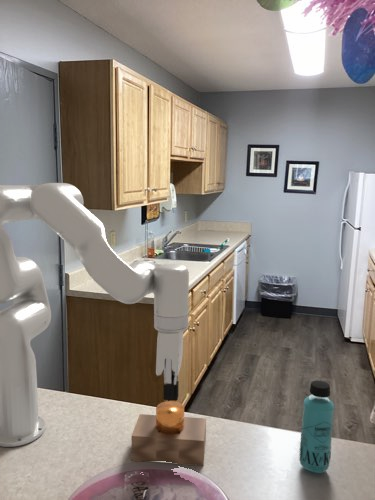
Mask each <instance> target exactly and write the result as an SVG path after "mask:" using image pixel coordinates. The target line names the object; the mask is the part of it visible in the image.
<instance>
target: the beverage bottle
mask: <svg viewBox="0 0 375 500" xmlns="http://www.w3.org/2000/svg"><path fill="white" fill-rule="evenodd" d="M309 393H310V395H308V396H306V397H305V398H304V400H303V407H302V408H303V409H302V420H301V421H302V422H301V423H302V424H301V429H300V431H301V432H300V442H299V463H300V465H301V467H303V469H305V470H307V471H309V472H312V473H317V474H319V473H320V474H321V473H324V472H326V471H327V470H329V467H330V462H331V456H332V451H331V450H332V436H333V427H334V425H333V423H334V421H333V420H334V411H335V404H334V403H333V401H332V400H330V398H329V397H330V396H331V386H330V383H328V382H326V381H324V380H313V381H311V382H310V387H309Z"/></svg>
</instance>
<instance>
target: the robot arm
mask: <svg viewBox="0 0 375 500" xmlns="http://www.w3.org/2000/svg"><path fill="white" fill-rule="evenodd" d="M84 204H85V203H84V196H83V195H82V192H81V191H80V189H78V188H77V187H76V186H75V185H73V184H71V183H66V182H48V183H47V182H46V183H43V184H27V185H24V184H20V185H19V184H18V185H17V184H15V185H14V184H13V185H11V184H10V185H9V184H0V305H1V304H6V303H10V302H13V304H12V305H10V306H8V307H6V308H3V309H2V310H0V447H6V448H12V447H13V448H14V447H20V446H23V445H27V444H29V443H32V442H33V441H36V440H37V439H38V438H40V437H41V436H42V435H43V434H44V432H45V430H46V422H45V421H46V420H44V418H42V417H41V416H39V400H38V377H37V374H38V373H37V360H36V355H35V352H34V351H33V348H32V345H31V341H32V340H33V339H34V338H36V337H37V336H38V335H40V334H41V333H43V332H44V331H45V330H46V329H48V327H49V326H50V323H51V320H52V310H51V305H50V300H49V296H48V292H47V289H46V283H45V280H44V276H43V275H44V274H43V273H42V270H41V269H40V267H39V265H38V264H37V263H36V262H35V261H34V260H33V259H31V258H29V257H25V256H16V253H15V251H14V244H13V241H12V240H11V238H10V235H9V234H8V232H7V231H6V230H5V229H4V225H5V224H6V223H7V224H8V223H15V222H20V221H29V220H31V221H32V220H41V222H43V223H44V224H45V225H47V227H48V228H49V229H50V230H51V231H53V232H54V233H55V234H56V235H57V236H59V238H61V239H62V240H63V241H64V242H66V244H68V246H69V247H70V248H71V249H73V250H74V251H75V253H76V254H77V255H78V258H79V260H80V263H81V264H82V266H83V267H84V269H85V271H86V272H87V275H88V276H90V277H91V279H92V280H93V281H94V282H95V283H96V284H97V286H100V288H101V289H102V290H104V291H105V292H106V293H107V294H108V295H109V296H111V297H112V298H114V299H115V300H116V301H118V302H120V303H123V304H126V305H132V304H136V303H138V302H140V301H141V300H143V299H144V298H145V297H146V296H147V295H150V294H153V303H154V304H153V311H154V312H153V314H154V315H153V319H154V320H153V321H154V322H153V323H154V324H153V327H154V329H155V330H156V331H157V339H156V341H157V342H156V358H155V359H156V362H155V374H156V377H159V376H161V375H162V374H163V400H164V401H174V402H178V399H179V391H180V390H179V388H180V387H179V373H180V370H181V366H182V362H183V361H182V360H183V353H184V352H183V350H184V332H185V331H186V330H188V329H189V310H190V309H189V304H190V303H189V295H190V294H189V293H190V291H189V290H190V289H189V287H190V285H189V281H190V274H189V273H190V272H189V269H188V268H187V267H186V266H185V265H182V264H178V263H177V264H176V263H166V264H161V263H156V262H152V261H151V262H150V261H144V260H139V261H134V262H132V263H131V264H127V262H126V261H124V260H123V259H122V258H120V256H119V255H117V253H116V252H115V251H114V250H113V249H112V248H111V246H110V244H109V242H108V241H107V238H106V229H105V225H104V223H103V222H102V221H101V220H100V219H99V218H98V217H97V216H95V215H94V214H93V213H91V211H90V210H88V208H86V207H85V206H84Z"/></svg>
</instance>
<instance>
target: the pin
mask: <svg viewBox="0 0 375 500" xmlns="http://www.w3.org/2000/svg"><path fill="white" fill-rule="evenodd" d="M155 415H156V429H157V430H158V431H159V432H160V433H163V434H167V435H173V434H178V433H179V432H181V431H182V430H183V429H184V417H185V406H184V405H183V404H182V403H181V402H179V401H171V400H165V401H162V402H160V403H158V404H157V406H156V408H155Z"/></svg>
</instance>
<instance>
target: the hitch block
mask: <svg viewBox="0 0 375 500" xmlns="http://www.w3.org/2000/svg"><path fill="white" fill-rule="evenodd" d="M206 433H207V418H205V417H191V416H190V417H187V416H184V429H183V430H182V431H181V432H179V433H178V434H173V435H167V434H163V433H160V432H159V431H158V430H157V429H156V414H143V413H140V414H139V415H138V418H137V420H136V423H135V426H134V429H133V430H132V433H131V461H134V462H143V461H166V462H172V463H177V464H176V465H184V466H185V465H188V466H201V467H204V465H205V464H204V463H205V453H206V452H205V451H206V441H207V440H206V439H207V437H206V435H207V434H206Z"/></svg>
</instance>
